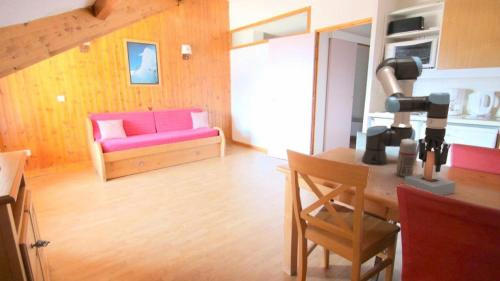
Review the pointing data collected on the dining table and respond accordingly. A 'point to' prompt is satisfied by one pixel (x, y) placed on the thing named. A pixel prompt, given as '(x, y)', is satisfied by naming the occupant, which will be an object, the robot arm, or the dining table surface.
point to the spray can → (406, 157)
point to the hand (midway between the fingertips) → (429, 176)
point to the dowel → (429, 166)
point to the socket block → (431, 184)
